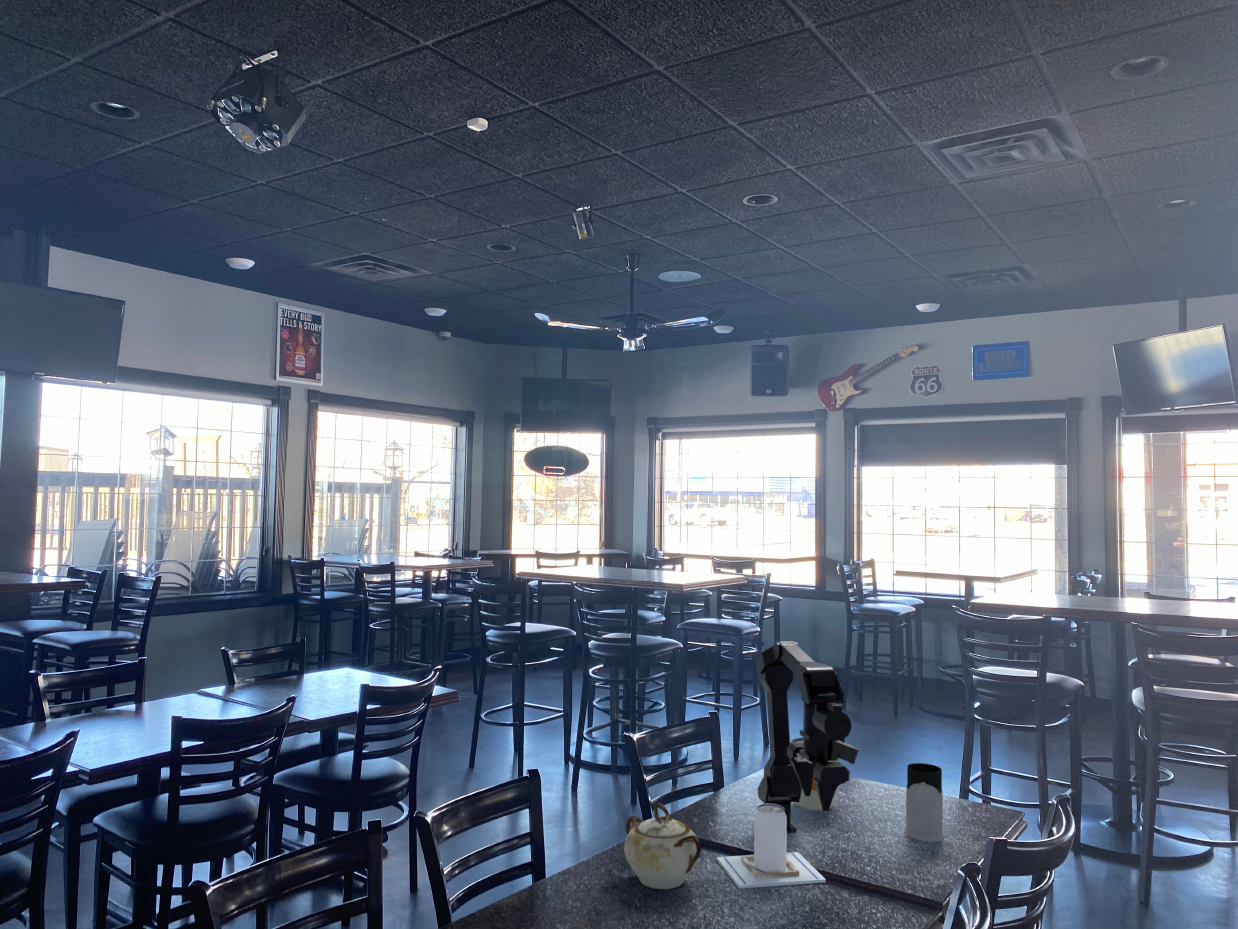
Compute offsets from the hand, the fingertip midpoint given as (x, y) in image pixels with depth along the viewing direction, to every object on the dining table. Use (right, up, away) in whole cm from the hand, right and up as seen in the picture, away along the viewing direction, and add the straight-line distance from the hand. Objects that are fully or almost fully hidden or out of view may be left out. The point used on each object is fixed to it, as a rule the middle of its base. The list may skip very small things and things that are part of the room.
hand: (816, 803), depth 186 cm
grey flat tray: (-10, -12, -4) cm, 17 cm away
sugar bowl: (-33, -12, -9) cm, 36 cm away
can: (-10, -12, -4) cm, 16 cm away
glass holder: (+30, -14, +21) cm, 39 cm away
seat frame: (-10, -12, -4) cm, 17 cm away
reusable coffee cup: (+8, -15, +38) cm, 41 cm away
